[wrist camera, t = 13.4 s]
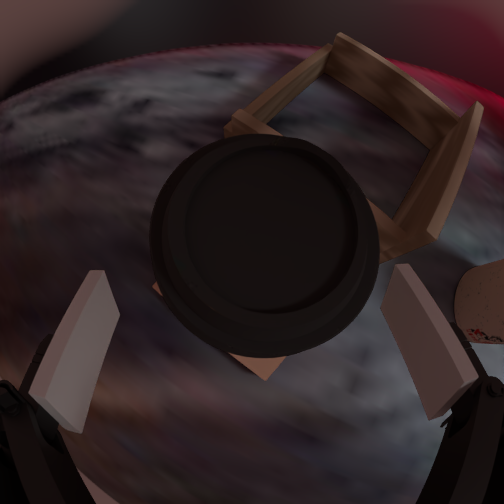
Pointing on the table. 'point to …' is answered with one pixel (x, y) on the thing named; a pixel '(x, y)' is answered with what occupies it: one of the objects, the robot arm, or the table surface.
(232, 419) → the table surface
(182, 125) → the table surface
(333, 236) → the coffee cup
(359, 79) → the frame
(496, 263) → the teacup with lid
